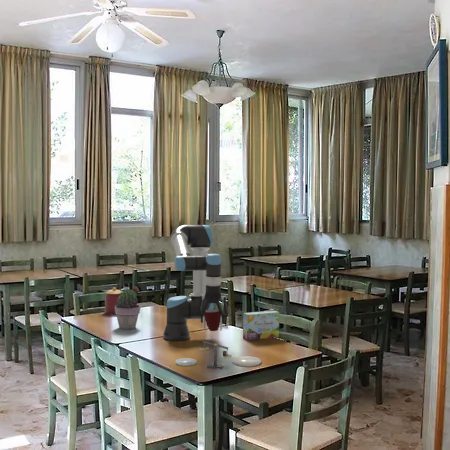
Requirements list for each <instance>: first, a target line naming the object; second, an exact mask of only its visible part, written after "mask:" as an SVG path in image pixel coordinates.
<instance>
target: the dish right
mask: <svg viewBox="0 0 450 450" xmlns="http://www.w3.org/2000/svg"><path fill="white" fill-rule="evenodd" d="M231 362H232V364H233V365H235V366H238V367H244V368H245V367H248V368H249V367H257V366H260V365H261V364H262V361H261V358H259V357H256V356H249V355H242V356H241V355H240V356H235V357H233V358H232V361H231ZM259 364H260V365H259Z"/></svg>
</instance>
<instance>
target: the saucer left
mask: <svg viewBox="0 0 450 450" xmlns="http://www.w3.org/2000/svg"><path fill="white" fill-rule="evenodd" d="M175 364H176V365H177V366H180V367H189V366H194V365H196V364H197V360H196V359H195V358H192V357H190V358H189V357H181V358H177V359H176V360H175Z"/></svg>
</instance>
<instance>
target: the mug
mask: <svg viewBox="0 0 450 450" xmlns="http://www.w3.org/2000/svg"><path fill="white" fill-rule="evenodd" d="M204 313H205V325H206V326H207V328H208V330H209V331H210V332H217V331H218V330H219V329H220V317H221V314H220V311H219V309H218V308H213V309H209V310H206V311H204Z"/></svg>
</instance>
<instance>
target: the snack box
mask: <svg viewBox="0 0 450 450" xmlns="http://www.w3.org/2000/svg"><path fill="white" fill-rule="evenodd" d="M242 322H243V323H242V324H243V327H242V339H243V340H245V341H252V340H253V341H254V340H263V339H271V338H272V339H273V338H274V339H275V338H279V335H280V334H279V333H280V311H277V310H265V311H252V312H243V319H242Z"/></svg>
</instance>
